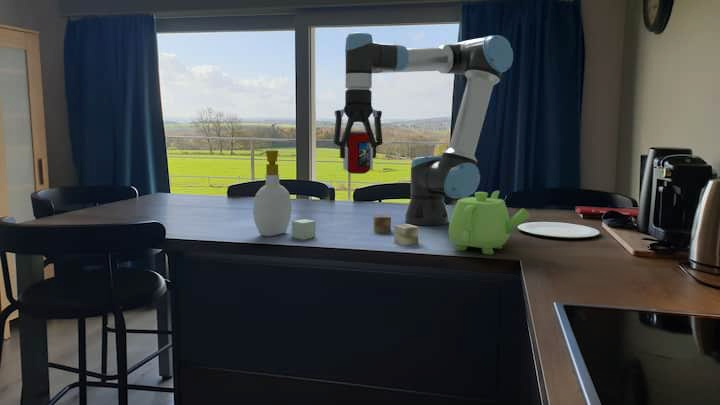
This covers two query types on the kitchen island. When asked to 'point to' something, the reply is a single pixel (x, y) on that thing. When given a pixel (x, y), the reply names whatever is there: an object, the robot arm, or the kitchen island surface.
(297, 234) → the sage painted cube
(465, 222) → the teapot
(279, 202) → the soap bottle
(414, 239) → the maple cube
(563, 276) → the kitchen island surface
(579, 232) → the plate
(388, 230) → the walnut cube
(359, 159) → the beverage can
